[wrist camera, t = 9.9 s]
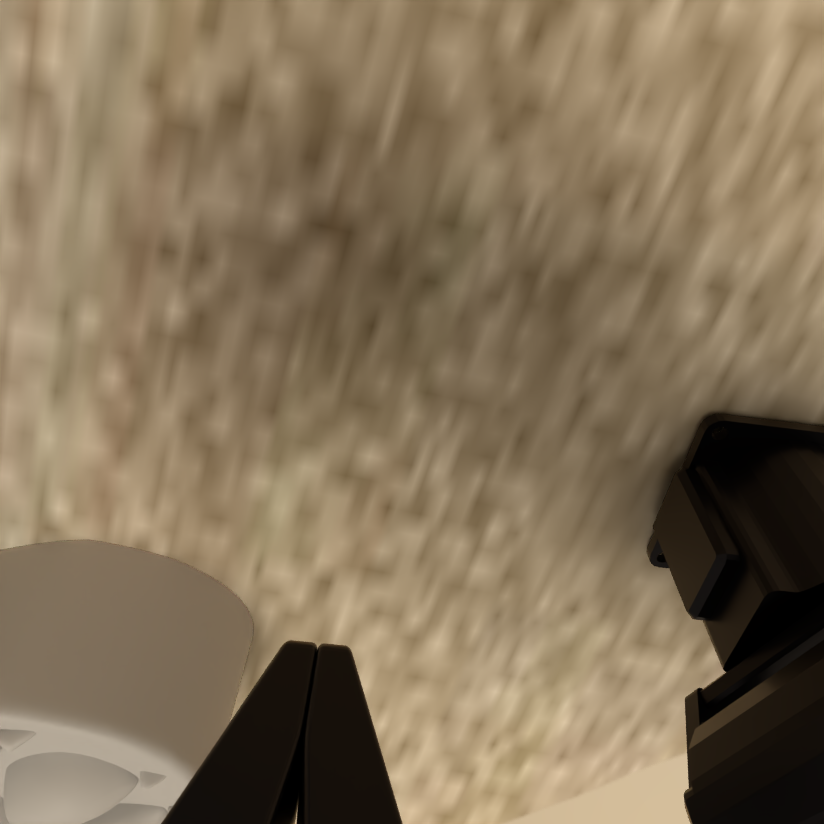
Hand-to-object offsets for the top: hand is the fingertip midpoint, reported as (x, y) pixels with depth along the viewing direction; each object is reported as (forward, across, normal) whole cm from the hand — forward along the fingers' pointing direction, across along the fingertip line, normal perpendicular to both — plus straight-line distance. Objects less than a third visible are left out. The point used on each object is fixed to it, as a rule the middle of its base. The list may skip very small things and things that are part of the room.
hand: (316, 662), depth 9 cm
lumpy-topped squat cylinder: (+13, +10, +17) cm, 24 cm away
